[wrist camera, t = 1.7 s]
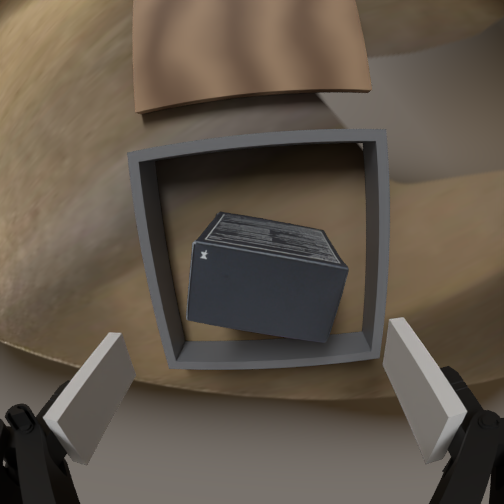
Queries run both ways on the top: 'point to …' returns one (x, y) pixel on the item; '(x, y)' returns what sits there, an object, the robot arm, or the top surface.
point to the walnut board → (244, 50)
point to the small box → (265, 278)
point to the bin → (267, 350)
